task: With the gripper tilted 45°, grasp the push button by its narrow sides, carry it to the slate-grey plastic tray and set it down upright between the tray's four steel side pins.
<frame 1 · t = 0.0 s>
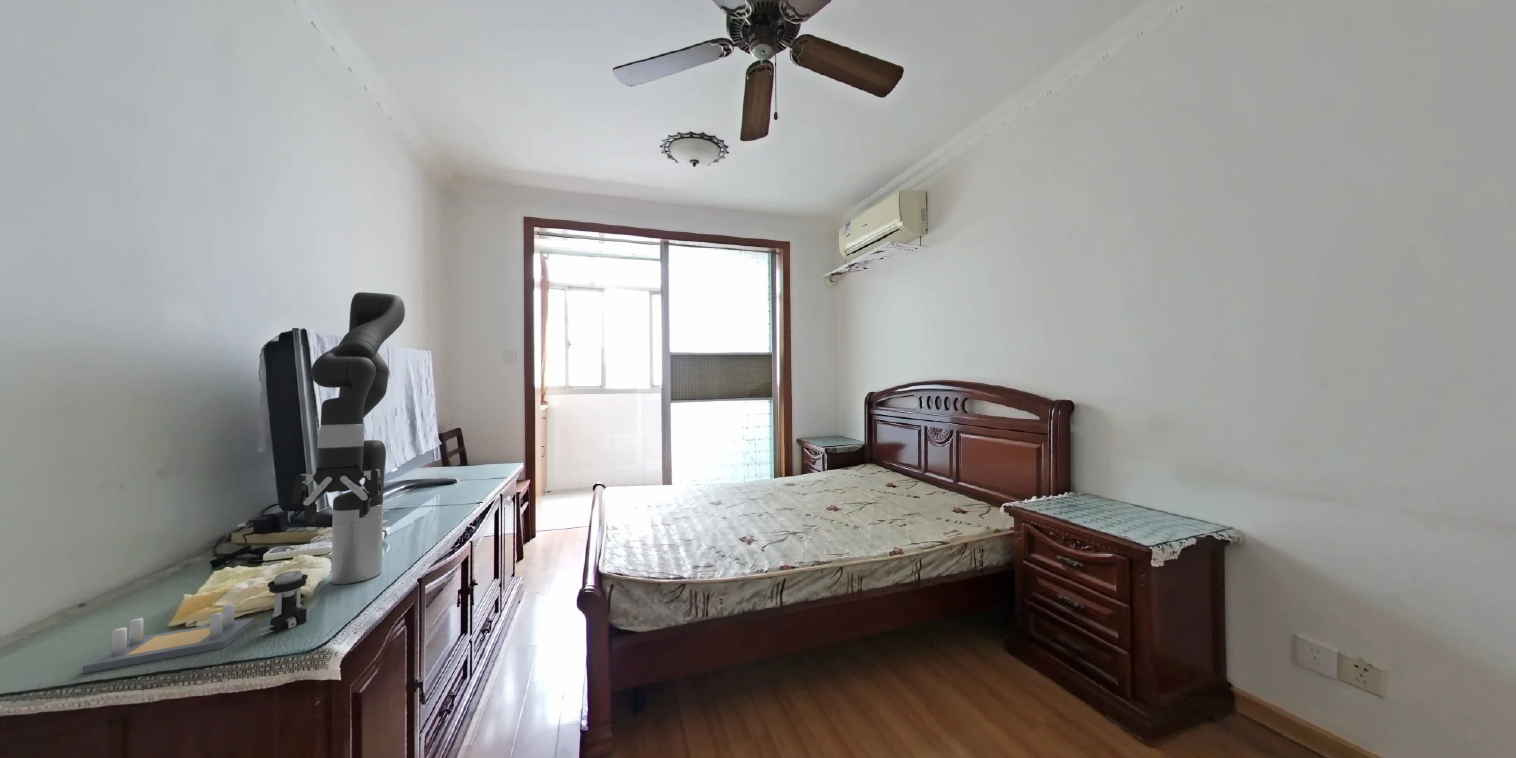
hand: (337, 519, 98), 17 cm above the dresser, tool pointing down, fingers open, 8 cm apart
push button: (282, 630, 85), on the dresser
pin tray: (176, 646, 79), on the dresser
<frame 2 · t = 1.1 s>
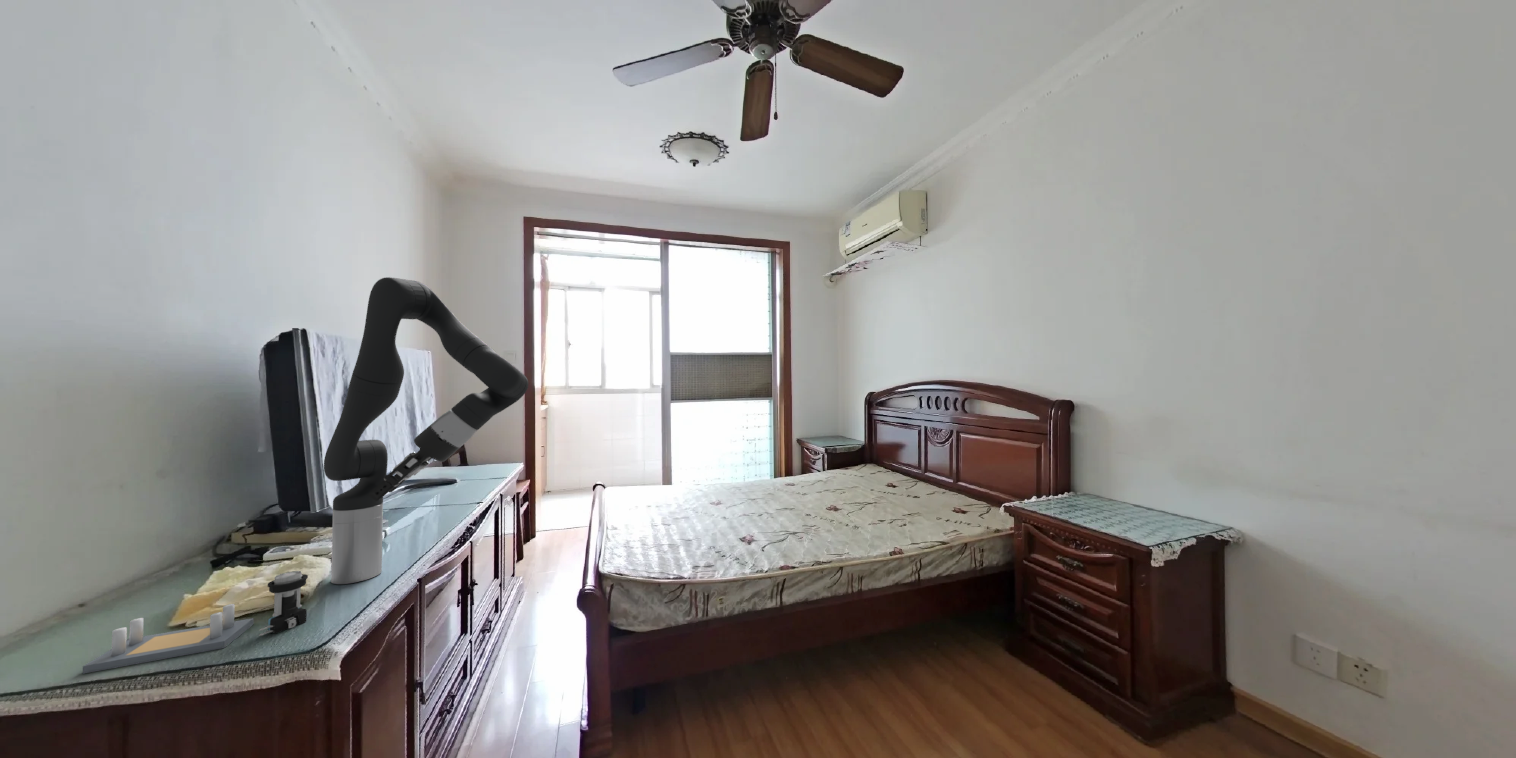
hand: (379, 493, 92), 24 cm above the dresser, tool tilted 45°, fingers open, 8 cm apart
nothing on the dresser moved.
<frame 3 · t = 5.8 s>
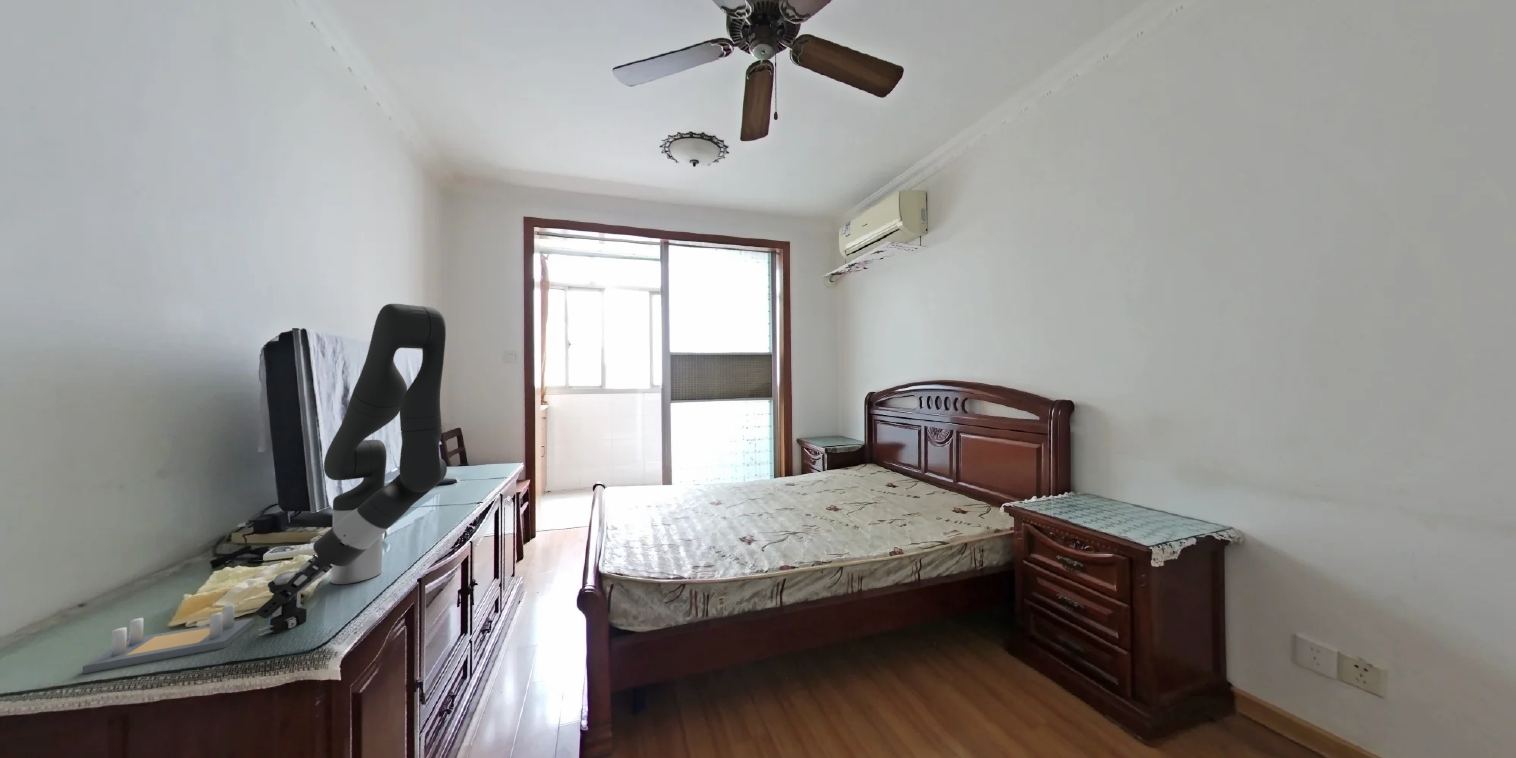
hand: (269, 608, 84), 4 cm above the dresser, tool tilted 45°, fingers closed on push button, 4 cm apart
push button: (282, 629, 85), on the dresser, touching gripper
when the fingers open (7 cm above the dresser, at t = 11.2 s): push button drops 1 cm, resting on pin tray.
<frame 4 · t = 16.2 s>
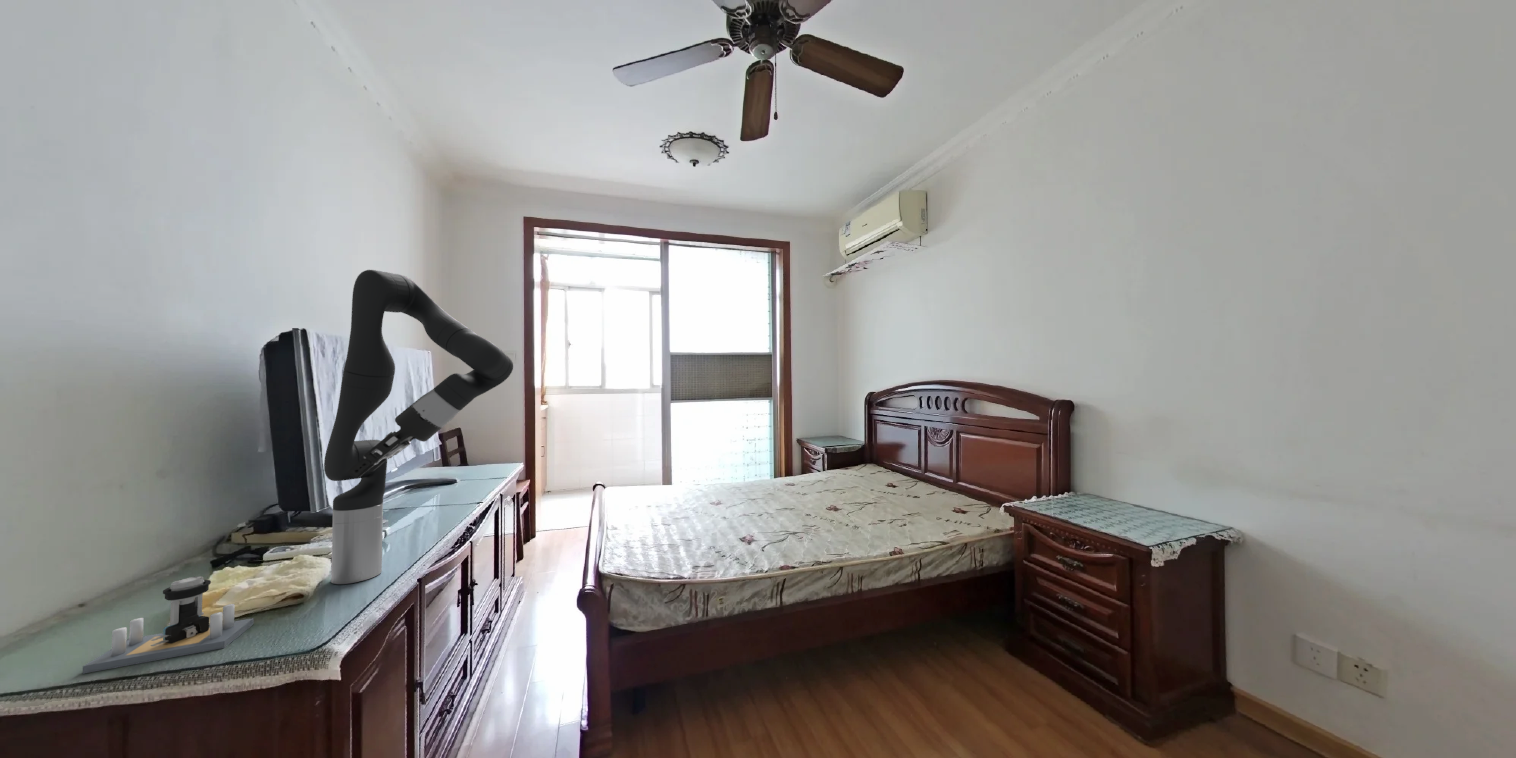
hand: (359, 472, 92), 29 cm above the dresser, tool tilted 45°, fingers open, 8 cm apart
push button: (180, 639, 80), point 1 cm above the dresser, touching pin tray
at the end: push button 0.4 cm off-centre on the pin tray, point 1.0 cm above the pin tray's base; push button tilted 0°; the gripper is holding nothing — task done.
